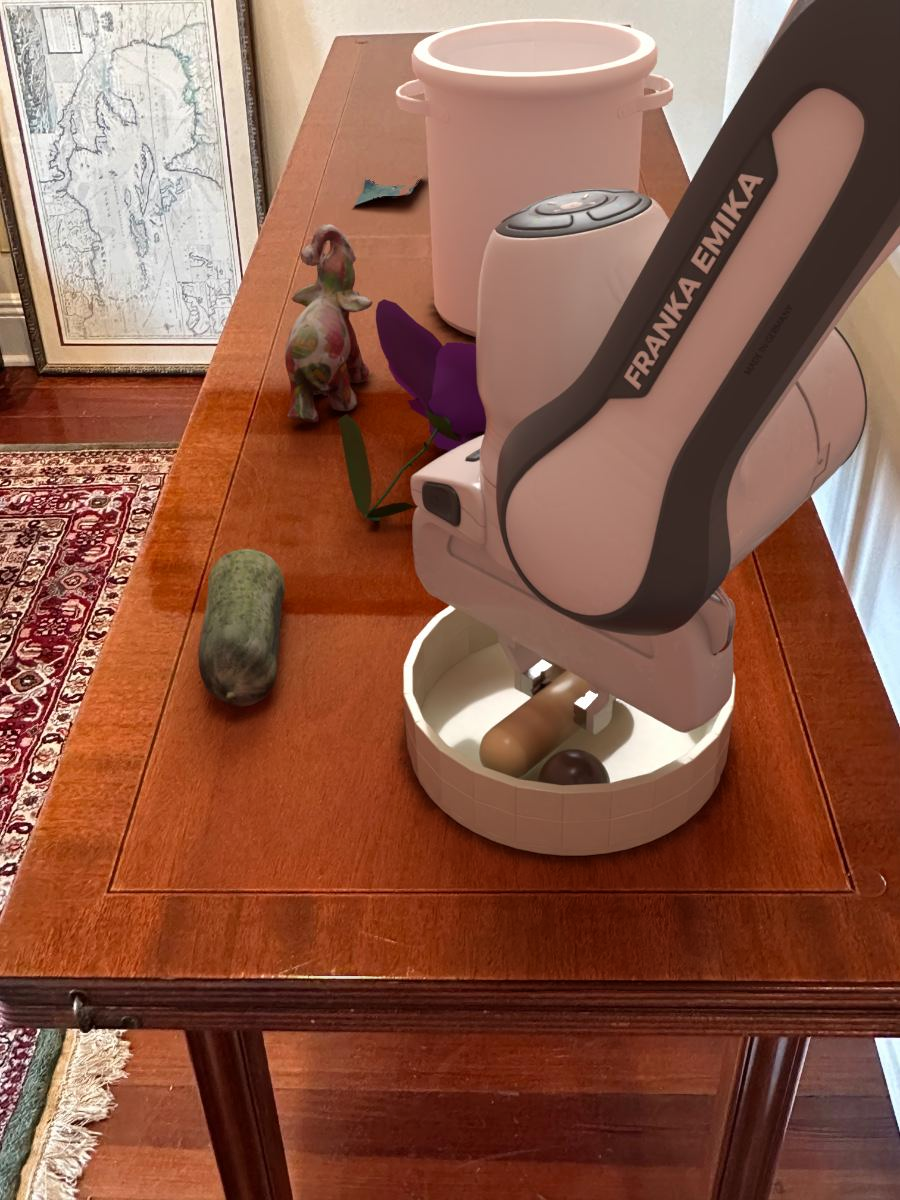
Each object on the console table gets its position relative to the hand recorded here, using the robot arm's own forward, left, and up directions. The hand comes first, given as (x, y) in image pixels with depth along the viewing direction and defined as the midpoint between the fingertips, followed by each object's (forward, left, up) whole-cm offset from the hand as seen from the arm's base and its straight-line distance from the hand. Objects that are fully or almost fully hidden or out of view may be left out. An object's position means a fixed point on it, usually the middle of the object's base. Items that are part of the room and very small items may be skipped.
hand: (561, 706), depth 70 cm
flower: (+15, -26, -3) cm, 30 cm away
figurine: (+28, -40, -3) cm, 49 cm away
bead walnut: (-2, +6, 0) cm, 6 cm away
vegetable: (+22, -4, -3) cm, 23 cm away
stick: (0, 0, -2) cm, 2 cm away
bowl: (0, -1, -3) cm, 3 cm away
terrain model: (+37, -95, -3) cm, 102 cm away
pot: (+13, -63, -3) cm, 64 cm away
